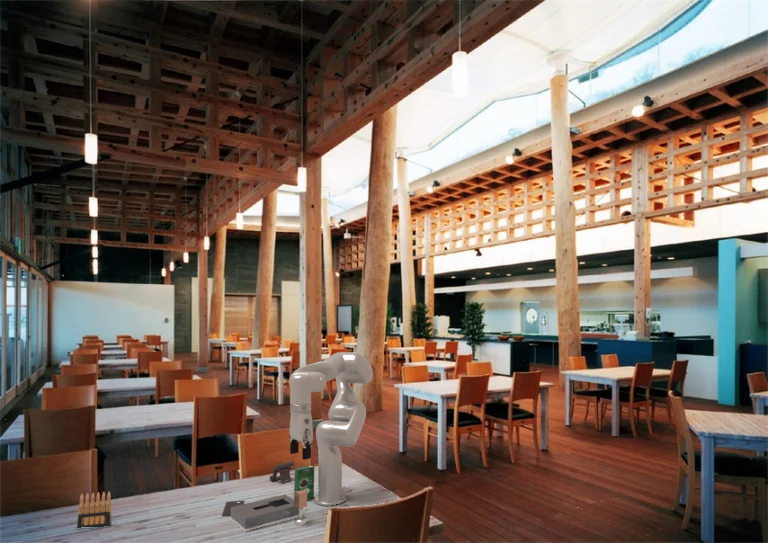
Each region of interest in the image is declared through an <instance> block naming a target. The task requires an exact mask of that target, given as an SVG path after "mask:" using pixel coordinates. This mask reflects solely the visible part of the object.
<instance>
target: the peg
mask: <svg viewBox="0 0 768 543" xmlns="http://www.w3.org/2000/svg"><path fill="white" fill-rule="evenodd" d="M295 506H296V507H298V508H299V517H297V518H296V519H294V524H296V525H295V526H298V525H301V526H305V525H307V524H308V517H306V516H304V508H306V507H308V500H307V492H306V491H304V490H301V491H296V492H295ZM301 526H300V527H301Z"/></svg>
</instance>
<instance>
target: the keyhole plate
mask: <svg viewBox="0 0 768 543" xmlns="http://www.w3.org/2000/svg"><path fill="white" fill-rule="evenodd" d="M297 517H299V508H298V507H296V506H295V500H294V498H292V497H291V496H288V495H287V494H282V495H277V496H273V497H269V498H264V499H261V500H257V501H252V502H248V503H245V504H243V505H238V506H234V507H231V516H230V520H231V521H232V522H233V524H235V523H236V524H237V525H238V526H237V525H236V524H235V525H236V526H237V527H239V528H240V529H241V528H242V529H243V530H244V531H243V530H242V529H241V530H242V531H243V532H244V533H247V532H251V531H254V530H253V529H255V530H257V529H256V528H259V529H261V528H260V527H262V528H264V527H263V526H266V527H268V526H267V525H270V526H272V525H271V524H273V525H276V524H275V523H277V524H281V523H284V522H283V521H285V522H288V521H291V519H292V520H295V518H297ZM287 520H288V521H287ZM280 522H281V523H280ZM250 530H251V531H250ZM246 531H247V532H246Z"/></svg>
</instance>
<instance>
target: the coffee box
mask: <svg viewBox="0 0 768 543" xmlns="http://www.w3.org/2000/svg"><path fill="white" fill-rule="evenodd" d="M293 489H294V491H293V492H294V493H293V495H294V497H293V500H295V492H296V491H301V490H304V491H306V492H307V501H310V500H314V499H315V466H314V465H307V466H302V467H295V468H294V488H293Z"/></svg>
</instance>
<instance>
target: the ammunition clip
mask: <svg viewBox="0 0 768 543" xmlns="http://www.w3.org/2000/svg"><path fill="white" fill-rule="evenodd" d="M100 494H101V493H100V492H99V491H98V492H97V494H96V498H95V493H94V492H92V493H91V497H90V495H89V493H88V492H87V493H86V496H85V498H84V494H83V493H81V495H80V497H79V504H78V515H77V525H76V529H77V528H81V527H98V528H105V527H104V526H108V527H110V526H112V501H111V500H112V499H111V497H112V496H111V491H108V493H107V495H106V492H105V491H102V495H100ZM84 499H85V500H84Z"/></svg>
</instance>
